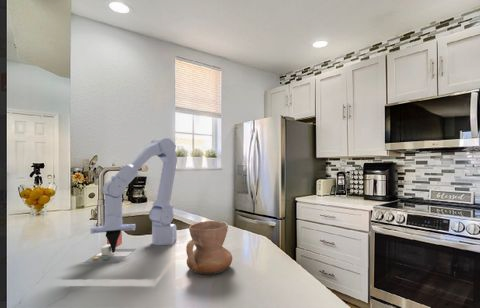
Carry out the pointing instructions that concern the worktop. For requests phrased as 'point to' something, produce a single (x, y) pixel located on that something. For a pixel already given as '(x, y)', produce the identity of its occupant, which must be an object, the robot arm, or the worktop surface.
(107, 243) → the block
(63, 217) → the worktop surface
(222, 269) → the ceramic jug
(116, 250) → the breaker panel
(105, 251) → the block
